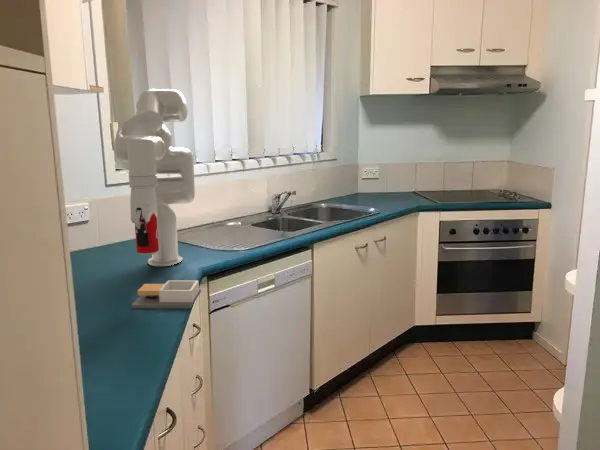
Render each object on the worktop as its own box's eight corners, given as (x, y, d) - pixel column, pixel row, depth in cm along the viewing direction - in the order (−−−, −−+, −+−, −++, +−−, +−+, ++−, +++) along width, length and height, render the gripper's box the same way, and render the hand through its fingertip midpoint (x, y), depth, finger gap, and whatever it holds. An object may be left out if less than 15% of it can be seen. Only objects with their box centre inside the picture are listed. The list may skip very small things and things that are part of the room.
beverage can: (161, 250, 151) (159, 210, 149) (156, 255, 145) (153, 214, 143) (140, 250, 151) (137, 210, 149) (134, 256, 145) (131, 214, 143)
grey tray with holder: (147, 291, 158) (146, 277, 157) (200, 291, 158) (200, 278, 157) (132, 308, 144) (130, 293, 143) (190, 308, 144) (189, 293, 143)
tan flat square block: (145, 291, 154) (144, 283, 153) (166, 291, 154) (165, 283, 153) (138, 298, 148) (137, 290, 147) (160, 299, 147) (159, 290, 147)
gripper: (140, 178, 152) (144, 236, 156) (118, 185, 135) (123, 250, 139) (165, 178, 152) (168, 236, 156) (146, 185, 135) (150, 251, 139)
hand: (147, 242), depth 147 cm, fingers closed on beverage can, 6 cm apart
